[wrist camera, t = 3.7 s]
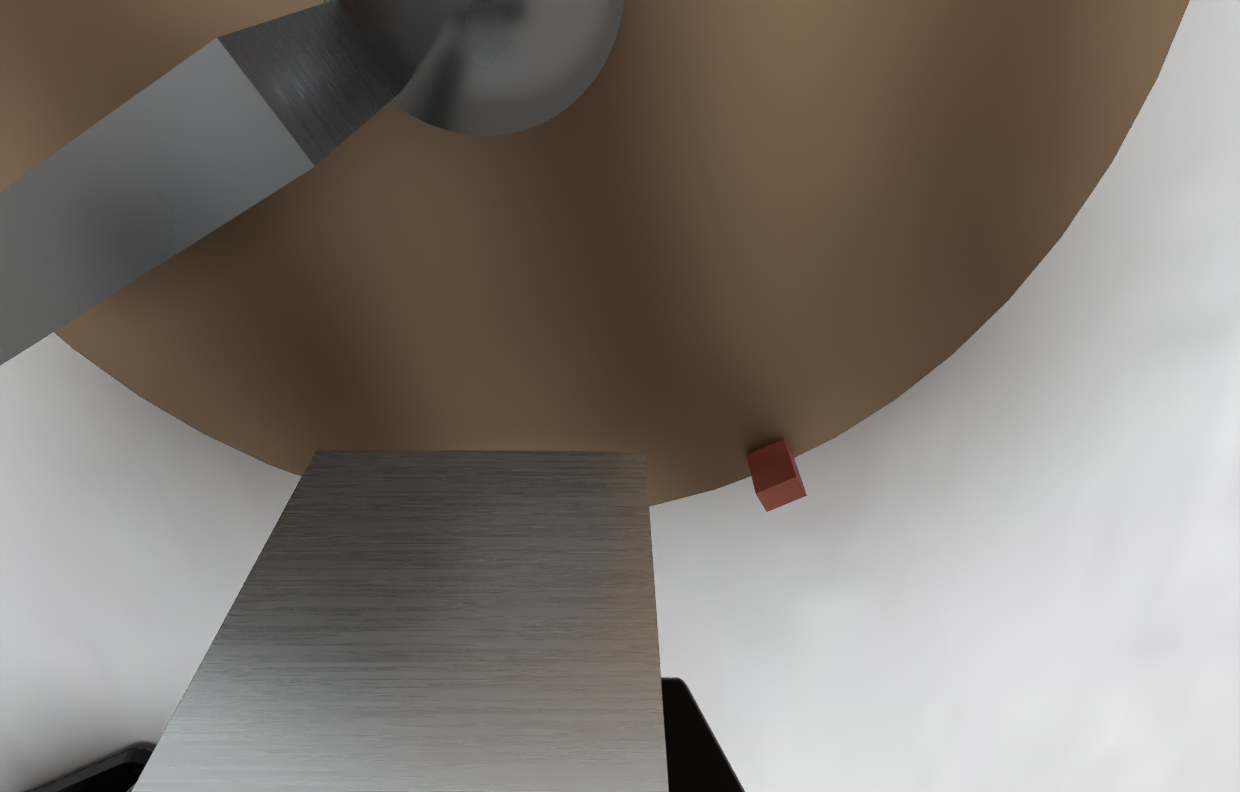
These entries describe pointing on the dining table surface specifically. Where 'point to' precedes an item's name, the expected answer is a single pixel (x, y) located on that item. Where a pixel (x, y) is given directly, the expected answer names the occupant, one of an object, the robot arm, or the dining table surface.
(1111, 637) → the dining table surface
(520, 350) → the base
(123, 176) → the crank
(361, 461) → the block
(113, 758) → the robot arm
